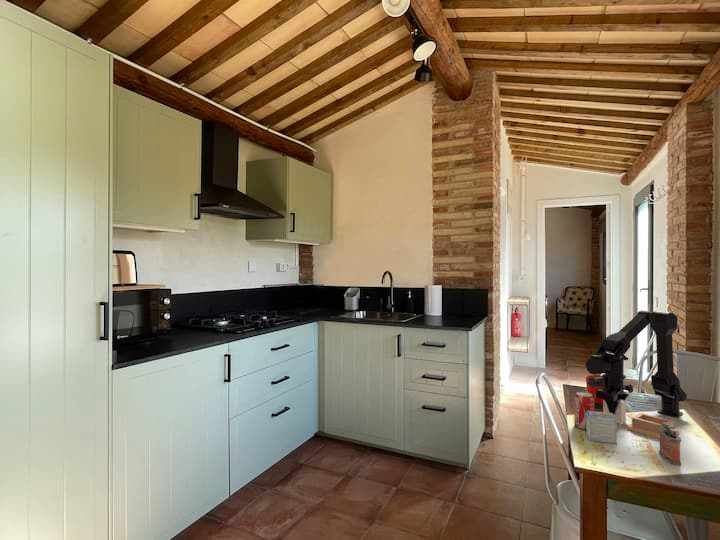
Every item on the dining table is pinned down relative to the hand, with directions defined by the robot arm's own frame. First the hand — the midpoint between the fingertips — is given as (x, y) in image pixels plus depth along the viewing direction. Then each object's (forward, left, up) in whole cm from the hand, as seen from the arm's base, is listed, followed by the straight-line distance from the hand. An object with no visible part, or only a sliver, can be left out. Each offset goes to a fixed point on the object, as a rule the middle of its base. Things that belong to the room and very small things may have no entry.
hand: (614, 413), depth 146 cm
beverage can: (+15, -4, -3) cm, 16 cm away
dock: (0, +12, -2) cm, 12 cm away
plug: (0, 0, -3) cm, 3 cm away
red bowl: (-19, -12, -3) cm, 23 cm away
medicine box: (+21, +4, -3) cm, 22 cm away
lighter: (+19, +22, -3) cm, 29 cm away
